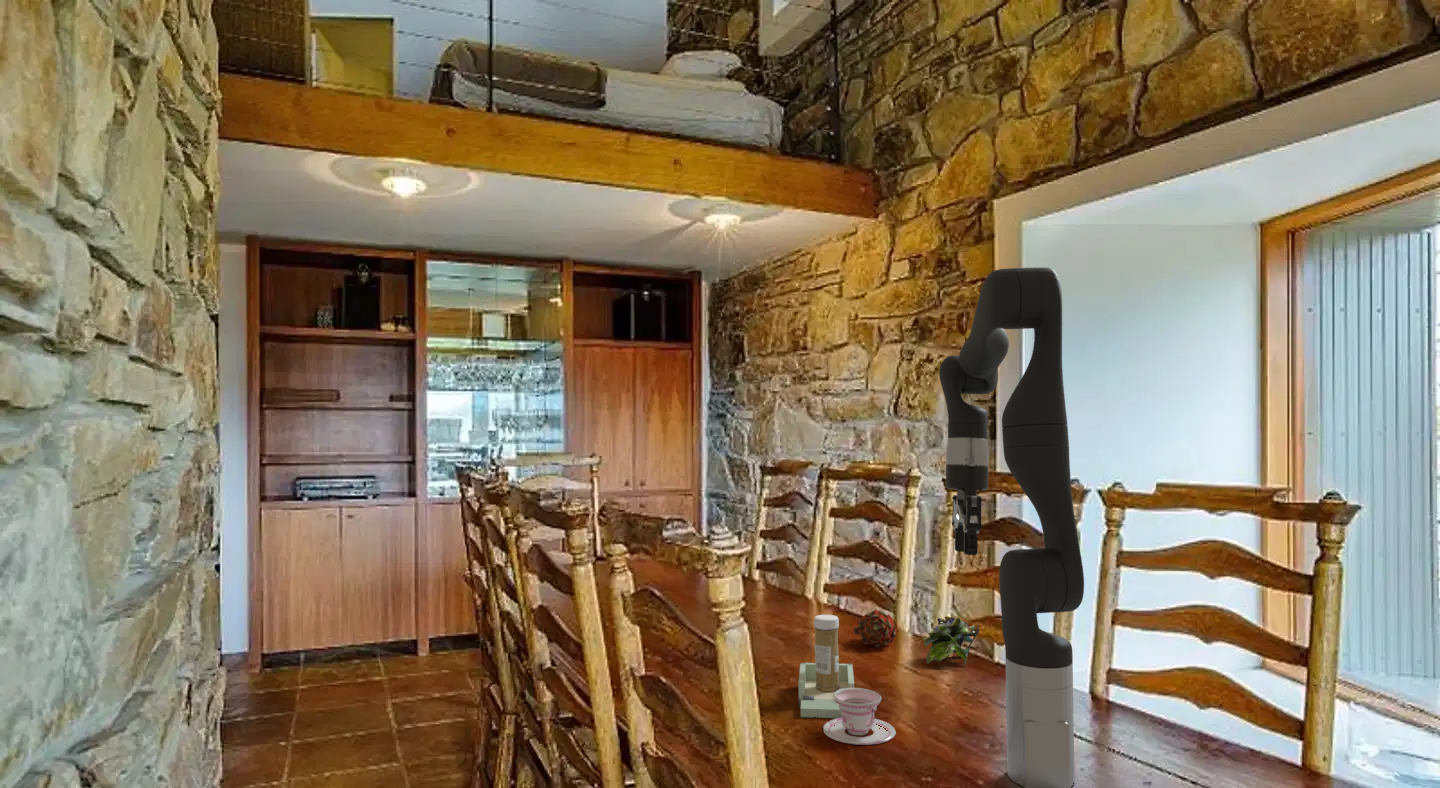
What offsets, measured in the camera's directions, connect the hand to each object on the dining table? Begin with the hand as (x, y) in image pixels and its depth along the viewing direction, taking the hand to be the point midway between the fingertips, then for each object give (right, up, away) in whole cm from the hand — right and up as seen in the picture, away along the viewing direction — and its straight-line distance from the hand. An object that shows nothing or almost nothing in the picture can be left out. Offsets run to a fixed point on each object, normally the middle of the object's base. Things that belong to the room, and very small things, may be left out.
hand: (965, 553), depth 159 cm
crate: (-25, -28, +3) cm, 37 cm away
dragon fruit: (-9, -28, +41) cm, 50 cm away
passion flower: (+5, -28, +27) cm, 39 cm away
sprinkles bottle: (-24, -27, +5) cm, 36 cm away
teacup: (-21, -28, -12) cm, 37 cm away
